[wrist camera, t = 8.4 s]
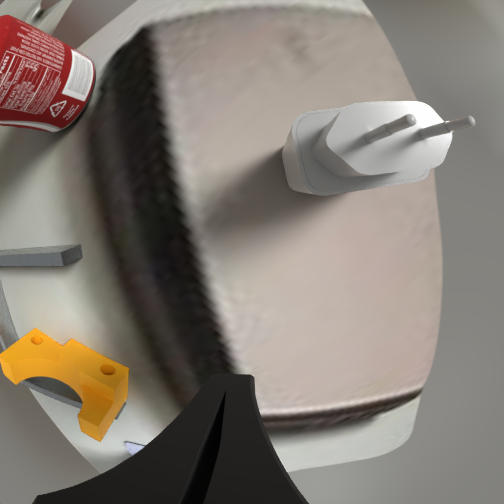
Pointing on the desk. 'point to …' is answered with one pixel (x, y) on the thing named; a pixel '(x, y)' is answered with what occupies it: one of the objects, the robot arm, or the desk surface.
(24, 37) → the soda can
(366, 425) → the desk surface
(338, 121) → the power adapter
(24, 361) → the pipe clamp
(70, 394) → the frame
